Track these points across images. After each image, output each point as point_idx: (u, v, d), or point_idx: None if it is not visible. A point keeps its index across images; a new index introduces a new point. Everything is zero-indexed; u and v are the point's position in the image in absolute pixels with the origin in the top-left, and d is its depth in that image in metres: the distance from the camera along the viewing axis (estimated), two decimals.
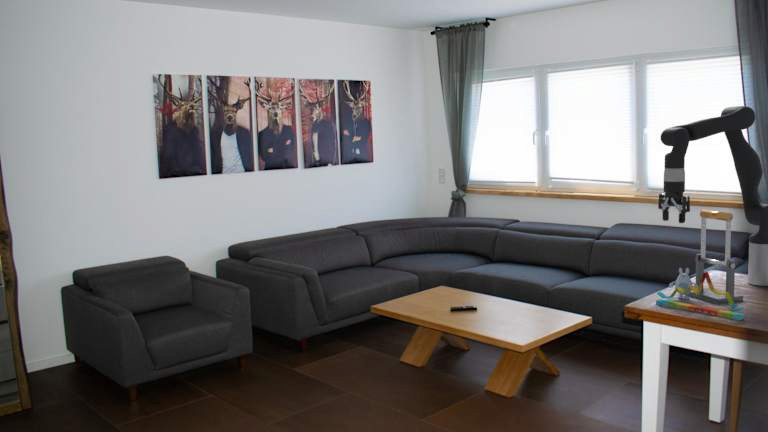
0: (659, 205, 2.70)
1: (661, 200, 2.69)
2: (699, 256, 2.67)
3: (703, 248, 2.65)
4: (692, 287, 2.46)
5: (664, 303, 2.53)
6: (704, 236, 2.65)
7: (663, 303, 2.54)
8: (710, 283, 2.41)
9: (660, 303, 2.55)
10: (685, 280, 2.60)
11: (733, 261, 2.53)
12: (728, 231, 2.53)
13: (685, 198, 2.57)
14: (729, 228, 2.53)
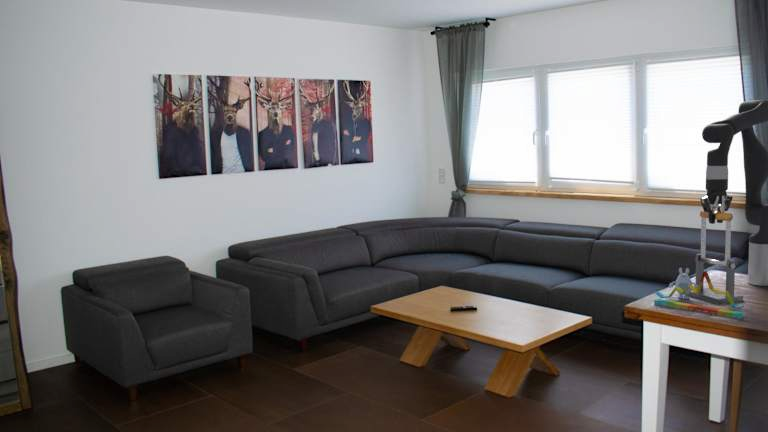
0: (709, 209, 2.56)
1: None
2: (699, 256, 2.67)
3: (703, 248, 2.65)
4: (691, 286, 2.47)
5: (662, 303, 2.54)
6: (704, 236, 2.65)
7: (661, 303, 2.54)
8: (709, 282, 2.42)
9: (658, 303, 2.55)
10: (685, 280, 2.60)
11: (733, 261, 2.53)
12: (728, 231, 2.53)
13: None
14: (729, 228, 2.53)
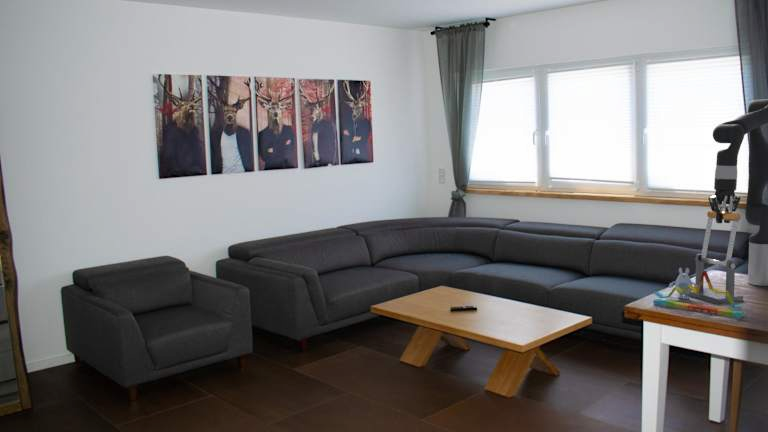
0: (717, 208, 2.57)
1: None
2: (699, 256, 2.67)
3: (705, 248, 2.66)
4: (690, 286, 2.47)
5: (662, 303, 2.54)
6: (708, 236, 2.65)
7: (661, 303, 2.54)
8: (709, 282, 2.42)
9: (658, 303, 2.55)
10: (685, 280, 2.60)
11: (733, 261, 2.53)
12: (733, 231, 2.54)
13: None
14: (735, 228, 2.54)
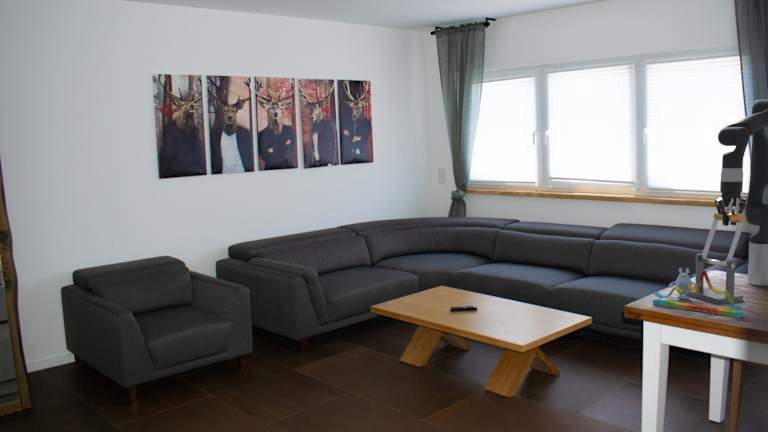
0: (723, 211, 2.58)
1: None
2: (699, 256, 2.67)
3: (706, 248, 2.66)
4: (690, 286, 2.47)
5: (661, 303, 2.54)
6: (711, 237, 2.66)
7: (660, 303, 2.54)
8: (709, 282, 2.43)
9: (657, 303, 2.55)
10: (685, 280, 2.60)
11: (733, 261, 2.53)
12: (738, 232, 2.55)
13: None
14: (740, 230, 2.55)
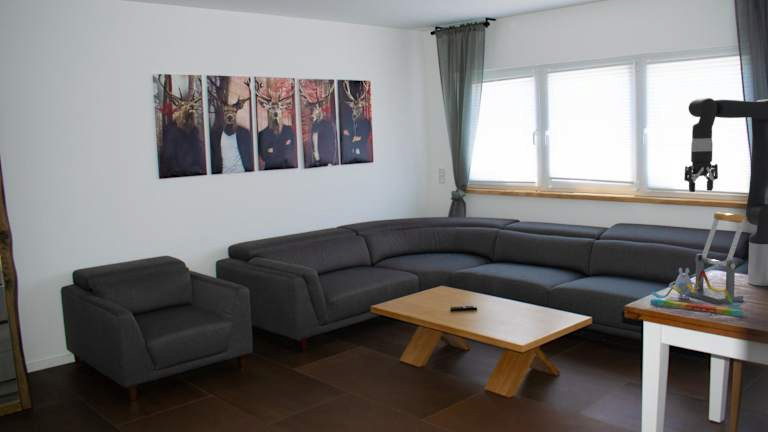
0: (690, 177, 2.66)
1: None
2: (699, 256, 2.67)
3: (707, 248, 2.66)
4: (688, 285, 2.48)
5: (659, 302, 2.55)
6: (711, 237, 2.66)
7: (658, 302, 2.55)
8: (707, 281, 2.44)
9: (655, 303, 2.56)
10: (685, 280, 2.60)
11: (733, 261, 2.53)
12: (738, 232, 2.55)
13: None
14: (740, 230, 2.55)
